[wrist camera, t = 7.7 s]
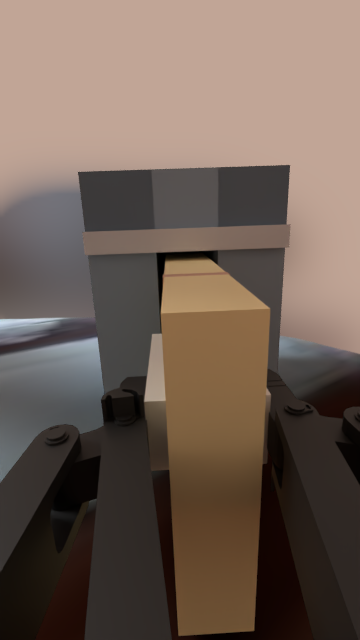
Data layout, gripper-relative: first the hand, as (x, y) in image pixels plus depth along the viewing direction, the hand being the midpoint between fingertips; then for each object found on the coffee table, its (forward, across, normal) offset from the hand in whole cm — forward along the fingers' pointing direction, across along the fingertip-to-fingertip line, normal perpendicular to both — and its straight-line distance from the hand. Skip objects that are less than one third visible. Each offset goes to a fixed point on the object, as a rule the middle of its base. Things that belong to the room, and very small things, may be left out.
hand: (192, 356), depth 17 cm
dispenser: (+9, 0, -6) cm, 11 cm away
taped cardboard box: (-1, 0, -6) cm, 6 cm away
